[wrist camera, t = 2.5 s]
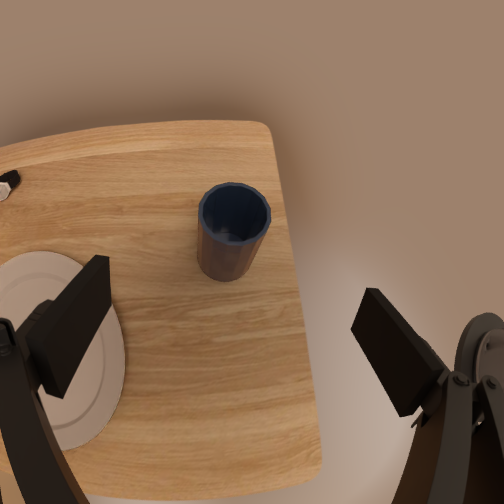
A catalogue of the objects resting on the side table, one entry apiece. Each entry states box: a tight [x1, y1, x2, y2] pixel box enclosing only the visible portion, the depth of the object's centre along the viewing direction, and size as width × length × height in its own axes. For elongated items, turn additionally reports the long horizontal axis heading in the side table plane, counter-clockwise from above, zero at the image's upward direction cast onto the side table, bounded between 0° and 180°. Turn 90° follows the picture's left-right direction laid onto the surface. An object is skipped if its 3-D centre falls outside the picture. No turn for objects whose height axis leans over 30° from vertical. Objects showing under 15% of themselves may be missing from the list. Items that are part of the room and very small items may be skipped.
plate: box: [0, 251, 125, 451], centre depth 27 cm, size 26×26×2 cm
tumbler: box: [197, 182, 271, 282], centre depth 32 cm, size 7×7×11 cm
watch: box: [0, 170, 21, 200], centre depth 33 cm, size 8×5×4 cm, turn 120°
